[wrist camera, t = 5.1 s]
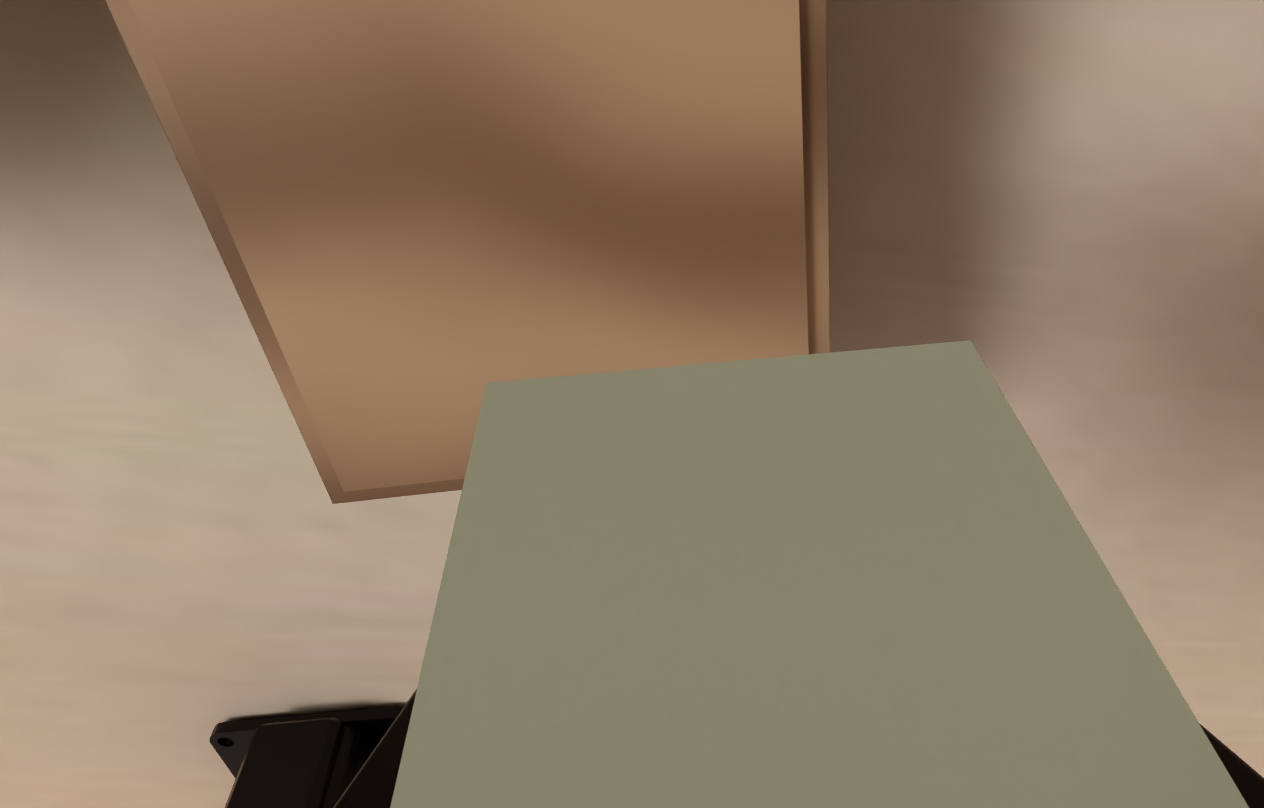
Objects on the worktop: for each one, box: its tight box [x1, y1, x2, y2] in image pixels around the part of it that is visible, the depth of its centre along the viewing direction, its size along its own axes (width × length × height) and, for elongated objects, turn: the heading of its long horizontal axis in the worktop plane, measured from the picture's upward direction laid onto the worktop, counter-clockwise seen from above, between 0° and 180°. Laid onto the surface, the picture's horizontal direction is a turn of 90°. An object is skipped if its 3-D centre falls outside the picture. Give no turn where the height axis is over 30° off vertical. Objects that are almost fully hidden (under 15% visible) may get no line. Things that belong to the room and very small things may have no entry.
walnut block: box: [105, 0, 830, 504], centre depth 16 cm, size 12×10×4 cm
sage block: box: [390, 340, 1249, 808], centre depth 8 cm, size 5×5×6 cm
